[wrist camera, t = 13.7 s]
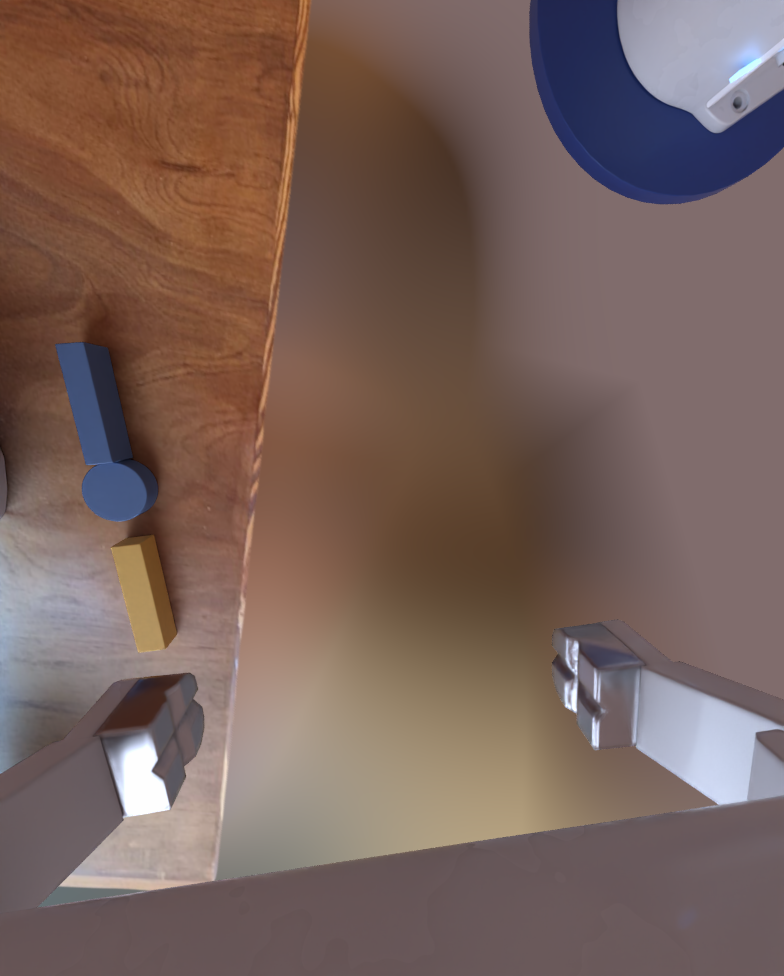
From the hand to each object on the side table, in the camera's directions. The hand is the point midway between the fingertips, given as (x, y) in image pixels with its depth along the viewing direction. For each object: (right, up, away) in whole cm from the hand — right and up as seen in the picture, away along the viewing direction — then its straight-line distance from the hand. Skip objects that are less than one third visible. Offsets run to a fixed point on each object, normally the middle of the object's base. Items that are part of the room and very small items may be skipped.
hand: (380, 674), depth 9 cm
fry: (-22, -5, +27) cm, 35 cm away
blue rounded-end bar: (-23, +9, +24) cm, 35 cm away
